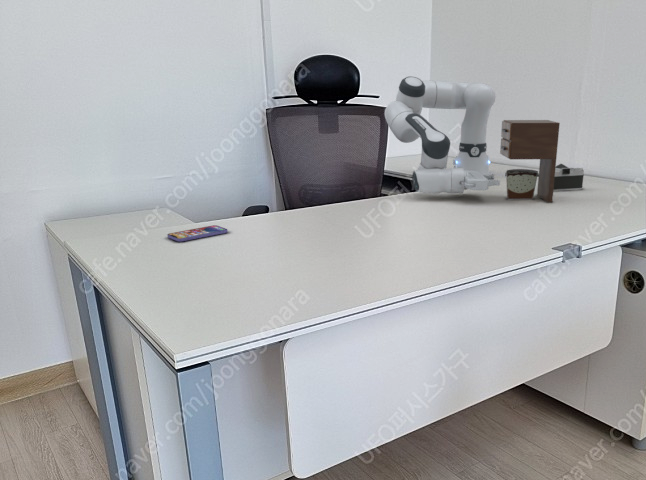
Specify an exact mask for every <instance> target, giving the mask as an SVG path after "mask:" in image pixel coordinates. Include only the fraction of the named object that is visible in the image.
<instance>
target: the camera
mask: <svg viewBox="0 0 646 480" xmlns="http://www.w3.org/2000/svg"><path fill="white" fill-rule="evenodd" d="M584 174H585V169H584V168H583V167H581V166H579V167H578V166H577V167H568V166H566V165H565V164H563V163H559V164H556V168H555V178H554V189H553V192H561V191H562V192H564V191H577V190H579V191H580V190H583V188H584V186H583V184H584V176H585V175H584Z"/></svg>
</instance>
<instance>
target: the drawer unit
mask: <svg viewBox="0 0 646 480" xmlns="http://www.w3.org/2000/svg"><path fill="white" fill-rule="evenodd" d="M560 124H561V123H560V122H558V121H554V120H549V119H503V120H502V121H501V131H500V133H501V134H500V149H499V154H500V155H502V156H503V157H505V158H507V159H508V160H539V167H538V173H539V177H537V192H536V195H537V196H538V198H541V199H542V200H543V201H545V202H546V203H548V204H552V203H553V198H554V191H553V189H554V178H555V168H556V166H557V157H558V156H557V155H558V147H559V146H558V145H559V135H560V134H559V133H560Z"/></svg>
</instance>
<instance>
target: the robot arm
mask: <svg viewBox="0 0 646 480" xmlns="http://www.w3.org/2000/svg"><path fill="white" fill-rule="evenodd" d="M496 97H497V96H496V91H495V90H494V88H493V87H492V86H490V85H489V84H487V83H484V82H461V81H447V80H445V81H444V80H422V79H421V78H419V77H417V76H406V77H404V78H402V79H401V81H400V83H399V86H398V90H397V94H396V97H395V100H394V101H391V102H390V103H389V104H387V106H386V107H385V109H384V118H385V121H386V123H387V126H388V128H389V130H390V131H391V132H392V134H393V135H394V137H395V138H396V139H397V140H398V141H399V142H401V143H405V144H409V143H413V142H415V141H417V140H418V139H419V138H420V140H421V153H420V154H421V156H420V163H419V165H418V167H417V168H416V169H415V170H413V171H412V176H411V177H412V185H413V188H414V190H415V191H416V192H418V193H421V194H440V193H441V194H442V193H446V194H464V192H465V190H469V191H488V190H489V187H495V186H500V184H501V183H500V182H501V181H500V180H499V179H495V176H494V175H493V171H490V164H491V161H490V156H489V154H488V153H487V148H488V146H487V125H488V120H489V117H490V113H491V110H492V107H493V106H494V103H495V102H496ZM423 108H424V109H436V110H437V109H441V110H465V113H464V117H463V119H462V122H461V123H460V142H459V145H458V153H457V155H456V157H455V158H454V159H453V160H452V164H453V167H449V168H447V166H448V159H449V153H450V148H451V139H450V138H449V136H447V134H445V133H444V132H443V131H440V130H438V129H437V128H436V127H435V126H433V125H432V124H431V123H430V122H429V121H428V120H427V119H426V118H425V117H424V116H423V115H421V114H422V110H423Z"/></svg>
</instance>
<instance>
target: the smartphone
mask: <svg viewBox="0 0 646 480" xmlns="http://www.w3.org/2000/svg"><path fill="white" fill-rule="evenodd" d="M226 233H228V229H227V228H225V227H222V226H220V225H215V224H214V225H208V226H207V225H206V226H203V227H198V228H191V229H185V230H180V231H175V232H170V233H167V234H166V235H167V238H168V239H171V240H174V241H176V242H186V241H192V240H195V239H196V240H197V239H201V238H206V237H212V236H216V235H221V234H226Z"/></svg>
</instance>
